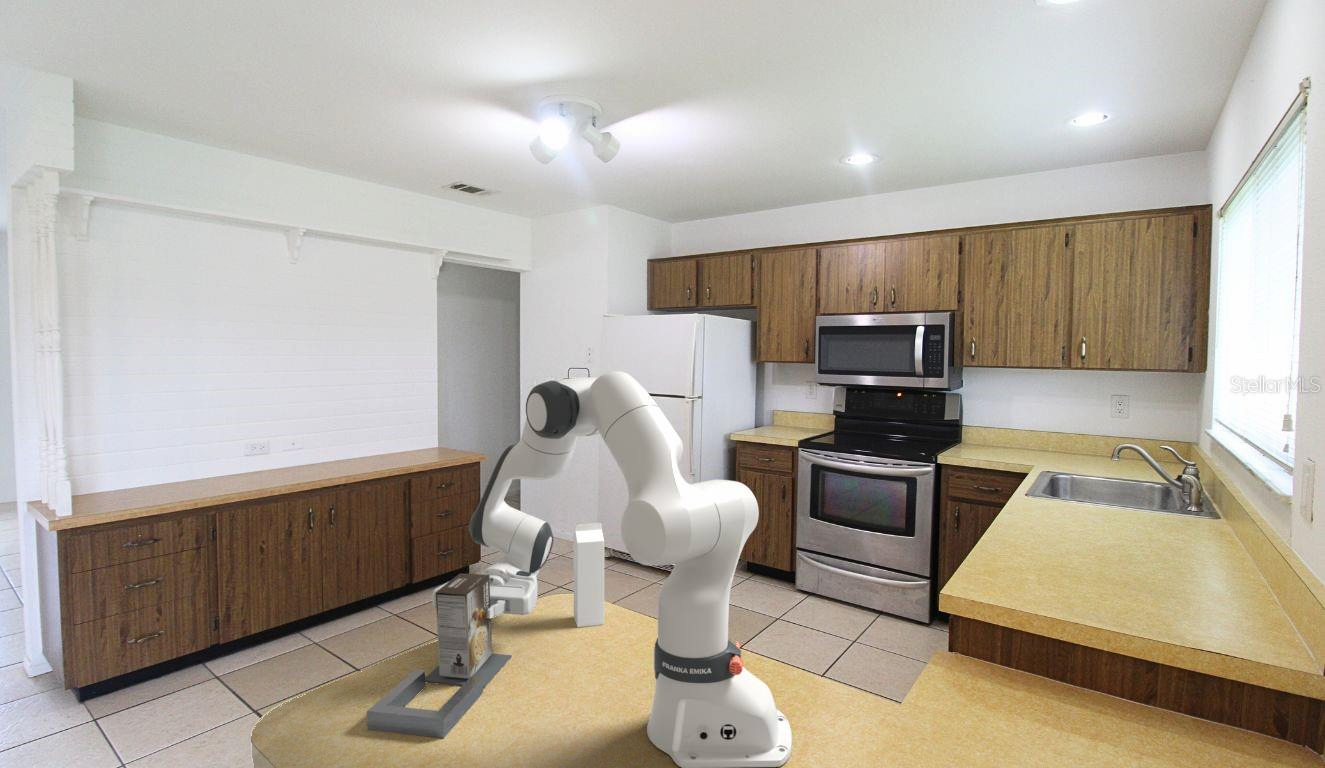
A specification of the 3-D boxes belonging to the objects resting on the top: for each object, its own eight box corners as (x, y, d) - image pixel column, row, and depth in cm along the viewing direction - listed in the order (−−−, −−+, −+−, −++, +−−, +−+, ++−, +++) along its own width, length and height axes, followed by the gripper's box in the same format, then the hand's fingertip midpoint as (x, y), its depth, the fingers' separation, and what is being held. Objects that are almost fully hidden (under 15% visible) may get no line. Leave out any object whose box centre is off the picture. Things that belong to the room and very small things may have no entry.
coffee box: (462, 651, 123) (459, 571, 121) (493, 654, 121) (490, 573, 120) (437, 676, 114) (434, 591, 112) (470, 680, 112) (468, 593, 111)
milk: (604, 625, 139) (604, 526, 138) (576, 627, 137) (577, 528, 136) (599, 614, 144) (599, 519, 144) (573, 616, 143) (573, 521, 142)
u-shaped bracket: (483, 692, 110) (483, 676, 110) (443, 738, 96) (443, 719, 96) (415, 686, 112) (414, 669, 112) (367, 729, 99) (367, 711, 98)
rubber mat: (511, 657, 123) (511, 655, 123) (484, 688, 111) (484, 686, 111) (454, 652, 125) (454, 650, 125) (422, 682, 113) (422, 680, 113)
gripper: (451, 568, 133) (415, 592, 119) (543, 574, 129) (517, 600, 116) (452, 598, 133) (415, 625, 119) (543, 604, 129) (517, 633, 116)
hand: (466, 613), depth 117 cm, fingers closed on coffee box, 6 cm apart
